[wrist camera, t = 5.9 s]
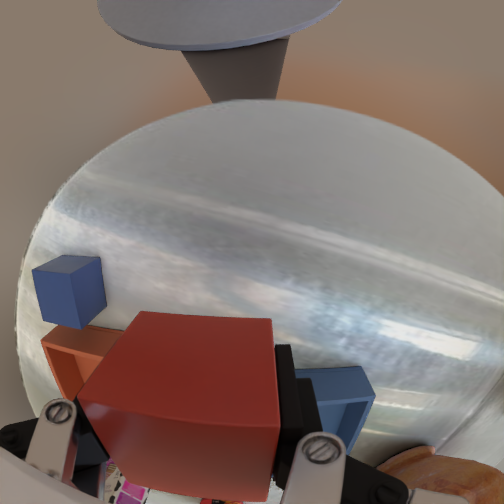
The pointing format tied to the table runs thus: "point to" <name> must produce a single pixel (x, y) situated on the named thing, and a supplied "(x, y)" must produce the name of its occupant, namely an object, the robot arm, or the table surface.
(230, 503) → the canned food
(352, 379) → the blue bin
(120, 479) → the candy bar box
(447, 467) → the jug
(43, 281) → the blue block
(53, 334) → the rust bin
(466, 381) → the table surface
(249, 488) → the red block
